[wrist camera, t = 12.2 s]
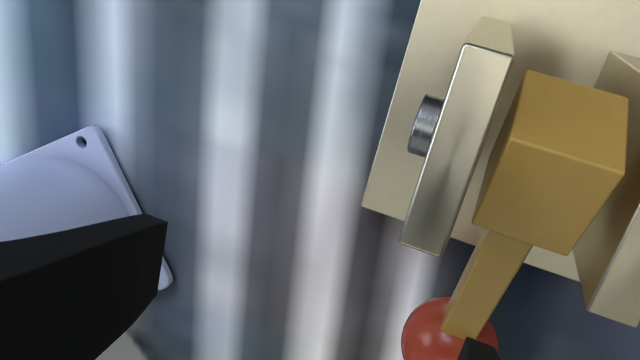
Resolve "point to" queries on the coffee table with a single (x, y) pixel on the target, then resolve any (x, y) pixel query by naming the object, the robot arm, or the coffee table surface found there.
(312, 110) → the coffee table surface
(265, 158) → the coffee table surface
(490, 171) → the lever
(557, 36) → the tap bracket
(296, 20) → the coffee table surface
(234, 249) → the coffee table surface
